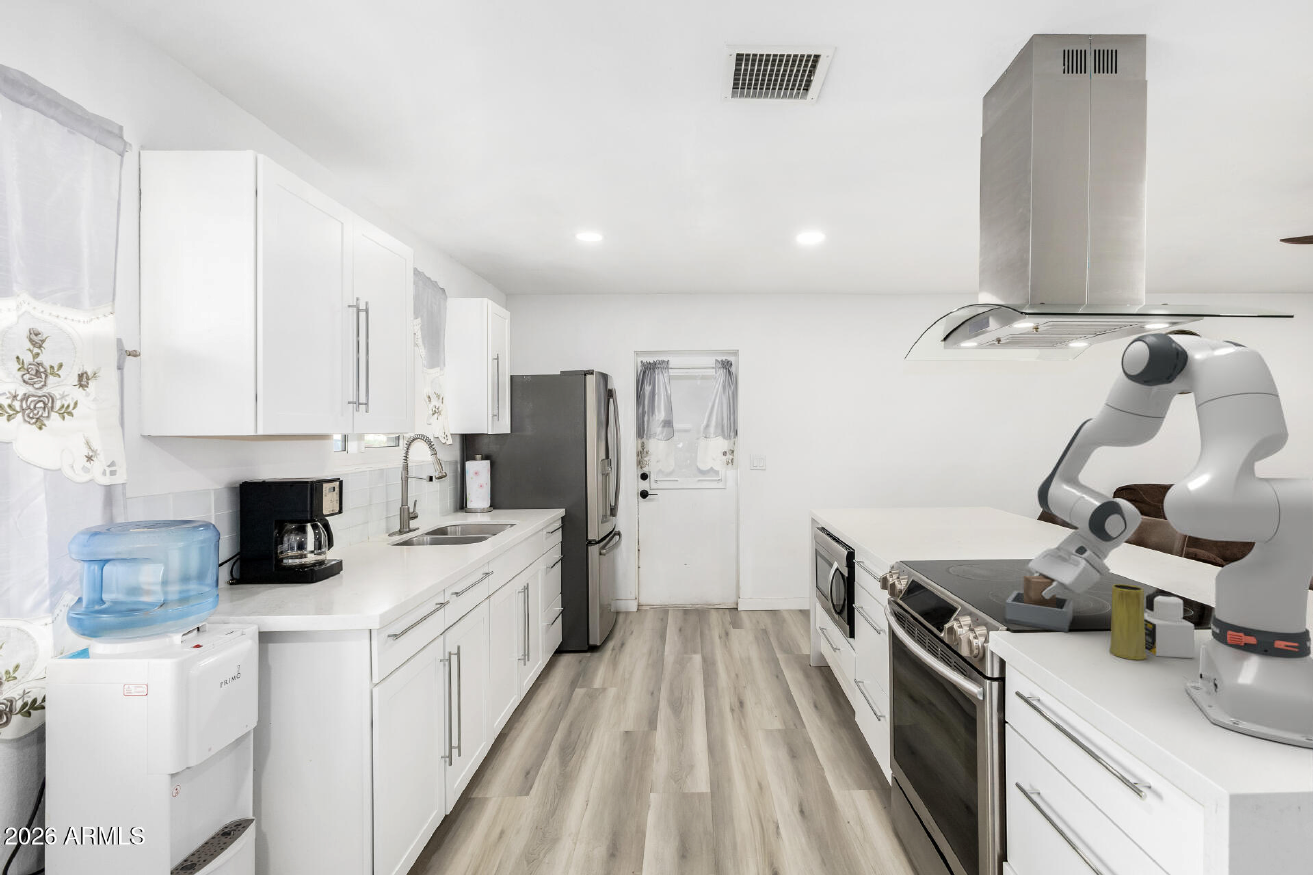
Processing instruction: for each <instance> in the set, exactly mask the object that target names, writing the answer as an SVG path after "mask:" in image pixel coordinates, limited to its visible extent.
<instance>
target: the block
mask: <svg viewBox="0 0 1313 875" xmlns="http://www.w3.org/2000/svg"><path fill="white" fill-rule="evenodd" d="M1022 578H1023V592H1024V604H1030V605H1036V606H1043V607H1050V608H1055V597H1056V594H1055V595H1053V596H1051V597H1050V598H1049V599H1046V598H1044V597H1043V596H1042V595H1041V594H1040V592H1041V591H1042V590H1043V589H1044V588H1045V589H1047V588H1048V587H1050V586H1052V585H1053V584H1052V583H1053V582H1054V580H1052V579H1050V578H1048V577H1045V576H1034V575H1023V577H1022Z"/></svg>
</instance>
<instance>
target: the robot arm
mask: <svg viewBox="0 0 1313 875" xmlns="http://www.w3.org/2000/svg"><path fill="white" fill-rule="evenodd" d="M1120 362H1121V369H1122V370H1121V372H1120V373H1118V374H1119V375H1118V376H1117V378H1116V379H1115V380H1114V383H1113V385H1112V386H1111V388H1110V390H1109V392H1108V395H1107V397H1106V398H1105V399H1106V400H1105V402H1104V405H1103V406H1102V408H1101V410H1100V411H1099V412H1098V413H1097V415H1095V416H1094V417H1093V418H1088V419H1086V420H1085V421H1083V422H1082V423H1081V424H1080V425H1079V427H1077V429H1076V431H1075V432H1074V433H1073V435H1072V436H1071V438H1070V440H1069V442H1068V443H1067V445H1066V447H1065V449H1064V450H1063V452H1061V455H1060V456H1059V458H1058V460H1057V462H1056V463H1055V465H1054V466H1053V469H1052V470H1051V472H1050V473H1049V474H1048V475H1047V477H1046V478H1045V479H1044V480H1043V481H1042V482H1041V484H1040V485H1039V486H1038V489H1037V502H1038V504H1039V506H1040V508H1041V509H1042V510H1044V511H1045V512H1047V513H1049V514H1051V515H1054V516H1056V517H1059V518H1061V519H1063V520H1064V521H1065V522H1067V523H1069V524H1070V525H1072V526H1075V527H1077V528H1078V529H1075V530H1073V531H1072V532H1071V533H1070V534H1068V535H1067V536H1066V537H1065V538H1064V539H1063V540H1061V542H1060V543H1059V544H1058V545H1057V546H1056V547H1053V548H1052V547H1050V548H1047V549H1045V550H1043V551H1042V552H1041V553H1039V554H1038V555H1037V556H1036V557H1034V558H1032V560H1031V561H1030V562H1029V564H1028V565H1027V567H1028V569H1030V571H1031V572H1032V573H1034V574H1033V576H1045V577H1048V578H1050V579H1052V580H1054V582H1053V583H1052V584H1053V585H1052V586H1050V587H1048V588H1047V589H1045V588H1044V589H1043V590H1042V591H1041V592H1040V594H1041V595H1042V596H1043V597H1044V598H1046V599H1049V598H1050V597H1051V596H1053V595H1055V596H1056V594H1059V593H1062V592H1064V590H1067V591H1068V592H1071V593H1073V594H1075V595H1080V594H1083V593H1085V592H1086V591H1088V590H1089V589H1090V588H1091V587H1093V585H1095V584H1096V583H1097V582H1098V581H1099V580H1101V576H1104V577H1105V576H1106V575H1108V574H1109V573H1110V571H1111V569H1110V568H1109V566H1108V565H1107V564H1106V563H1105V560H1106V559H1107V558H1108V557H1109V555H1110V553H1111V552H1112V551H1113V550H1115V549H1116V548H1119V547H1121V545H1123V544H1124V542H1126V541H1127V540H1128V539H1129V538H1130V537H1131V536H1132V534H1134V532H1135V531H1136V530H1137V528H1138V527H1139V526H1140V524H1141V522H1142V519H1143V517H1142V515H1141V513H1140V510H1138V508H1136V506H1135V505H1133V503H1132V502H1129V501H1128V500H1126V499H1123V498H1118V497H1117V498H1116V497H1115V498H1112V497H1110V496H1108V495H1106V494H1104V493H1103V492H1100V491H1098V490H1096V489H1094V488H1091V487H1090V486H1087V485H1085V484H1083V483H1081V481H1080V479H1079V475H1080V474H1081V472H1082V470H1083V469H1084V467H1085V466H1086V465H1087V463H1088V461H1089V459H1090V458H1091V456H1092V454H1093V453H1094V452H1095V451H1096V450H1097V449H1098V448H1101V447H1113V448H1114V447H1115V448H1116V447H1118V448H1127V447H1129V448H1130V447H1138V446H1140V445H1144V444H1146V443H1148V442H1149V441H1151V440H1153V439H1154V438H1155V437H1156V436H1157V435H1158V433H1159V431H1161V427H1162V426H1163V424H1164V422H1165V419H1166V418H1167V414H1168V412H1169V409H1170V406H1171V404H1172V401H1173V400H1174V398H1175V397H1176V396H1177V395H1178V394H1181V393H1182V392H1183V393H1193V396H1194V404H1195V410H1196V416H1197V420H1198V426H1199V427H1198V428H1199V435H1200V436H1199V438H1200V452H1199V457H1198V458H1197V461H1196V464H1195V465H1194V467H1193V468H1192V469H1191V471H1190V472H1189V473H1188V474H1187V475H1186V476H1184V477H1183V478H1181V479H1180V480H1178V481H1177V482H1176V483H1174V484H1173V485H1172V486H1171V487H1169V488H1170V489H1169V490H1168V491H1167V492H1166V494H1165V497H1164V499H1163V512H1164V516H1165V518H1166V519H1167V521H1168V523H1169V524H1170V526H1171V527H1172V528H1173V529H1175V531H1177V532H1178V533H1179V534H1182V535H1186V536H1191V537H1193V538H1199V539H1205V540H1210V541H1220V542H1221V541H1225V542H1226V541H1227V542H1245V543H1246V542H1248V543H1249V542H1250V543H1251V542H1252V543H1255V544H1254V546H1253V547H1252V550H1250V552H1249V553H1248V554H1247V555H1246V556H1245V557H1244V558H1242V559H1239V560H1237V561H1234V562H1231V563H1229V564H1226V565H1224V566H1223V567H1221V569H1220V570H1219V571H1218V572H1217V573H1216V575H1215V581H1214V588H1215V590H1214V591H1215V592H1214V605H1215V606H1214V607H1215V608H1214V614H1213V615H1212V616H1211V622H1210V628H1211V636H1212V638H1211V640H1209V641H1208V642H1206V643H1204V644H1202V645H1200V653H1199V678H1198V679H1199V681H1198V682H1188V683H1186V684H1185V691H1186V692H1187V693H1188V695H1189V696H1190V698H1191V699H1192V700H1193V701H1194V702H1195V703H1196V705H1197V706H1198V708H1199V709H1200V710H1201V711H1202V712H1203V713H1204V715H1205V716H1206V717H1207V719H1208V720H1209V721H1210V722H1211V723H1213V724H1216V725H1217V726H1220V727H1223V728H1226V729H1228V730H1232V731H1235V732H1239V733H1241V734H1245V735H1249V736H1253V737H1256V738H1257V737H1258V738H1261V739H1266V740H1270V741H1274V742H1275V741H1276V742H1279V743H1284V744H1289V745H1293V746H1297V747H1298V746H1300V747H1305V748H1311V749H1313V658H1312V657H1311V656H1310V655H1311V654H1312V650H1311V645H1312V638H1311V634H1310V630H1309V629H1308V628H1307V610H1308V599H1309V598H1308V597H1309V596H1308V595H1309V588H1310V586H1311V585H1310V584H1311V581H1312V579H1313V479H1312V478H1291V477H1290V478H1286V477H1285V478H1284V477H1257V475H1256V471H1255V467H1256V466H1255V465H1256V463H1257V462H1261V461H1262V460H1265V459H1267V458H1269V457H1271V456H1273V455H1276V454H1277V453H1279V452H1280V451H1282V449H1284V447H1285V446H1286V444H1287V442H1288V440H1289V431H1288V426H1287V422H1286V419H1285V414H1284V412H1283V411H1284V410H1283V407H1282V402H1281V399H1280V398H1281V397H1280V395H1279V391H1278V388H1277V385H1276V382H1275V380H1274V377H1273V375H1272V373H1271V370H1270V368H1269V366H1268V364H1267V363H1266V361H1265V359H1264V358H1263V356H1262V355H1261V354H1260V352H1258V351H1257V350H1255V349H1253V348H1251V347H1247V346H1245V345H1244V344H1241V343H1238V342H1236V341H1231V340H1220V339H1214V338H1211V337H1210V338H1208V337H1203V336H1198V335H1190V334H1166V333H1162V332H1160V333H1159V332H1158V333H1147V334H1141V335H1139V336H1137V337H1136V338H1134V339H1132V340H1131V341H1130V343H1129V344H1128V345H1127V346H1126V348H1125V350H1124V351H1123V353H1122V357H1121V361H1120Z"/></svg>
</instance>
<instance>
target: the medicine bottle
mask: <svg viewBox="0 0 1313 875" xmlns="http://www.w3.org/2000/svg"><path fill="white" fill-rule="evenodd" d="M1183 617H1184V600H1183V599H1182V598H1180V597H1178V596H1177V595H1173V594H1168V593H1163V592H1153V593H1148V594H1147V595H1146V596H1145V612H1144V621H1145V652H1148V653H1149V654H1151V655H1153V656H1155V657H1165V658H1179V659H1180V658H1182V659H1184V658H1185V659H1194V658H1195V624H1193V623H1191V622H1190V621H1188V620H1185V619H1183Z"/></svg>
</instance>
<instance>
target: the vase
mask: <svg viewBox="0 0 1313 875" xmlns="http://www.w3.org/2000/svg"><path fill="white" fill-rule="evenodd" d="M1144 591H1145V590H1144V588H1143V587H1141V586H1138V585H1132V584H1126V583H1125V584H1124V583H1115V584H1112V586H1111V621H1110V622H1111V624H1110V625H1111V627H1110V645H1109V652H1110V654H1112V655H1113V656H1114V657H1115V656H1116V657H1119V658H1121V659H1126V660H1131V661H1132V660H1133V661H1142V660H1145V659H1147V655H1146V650H1145V621H1144V613H1145V602H1144V601H1145V595H1144V594H1145V592H1144Z"/></svg>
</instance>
